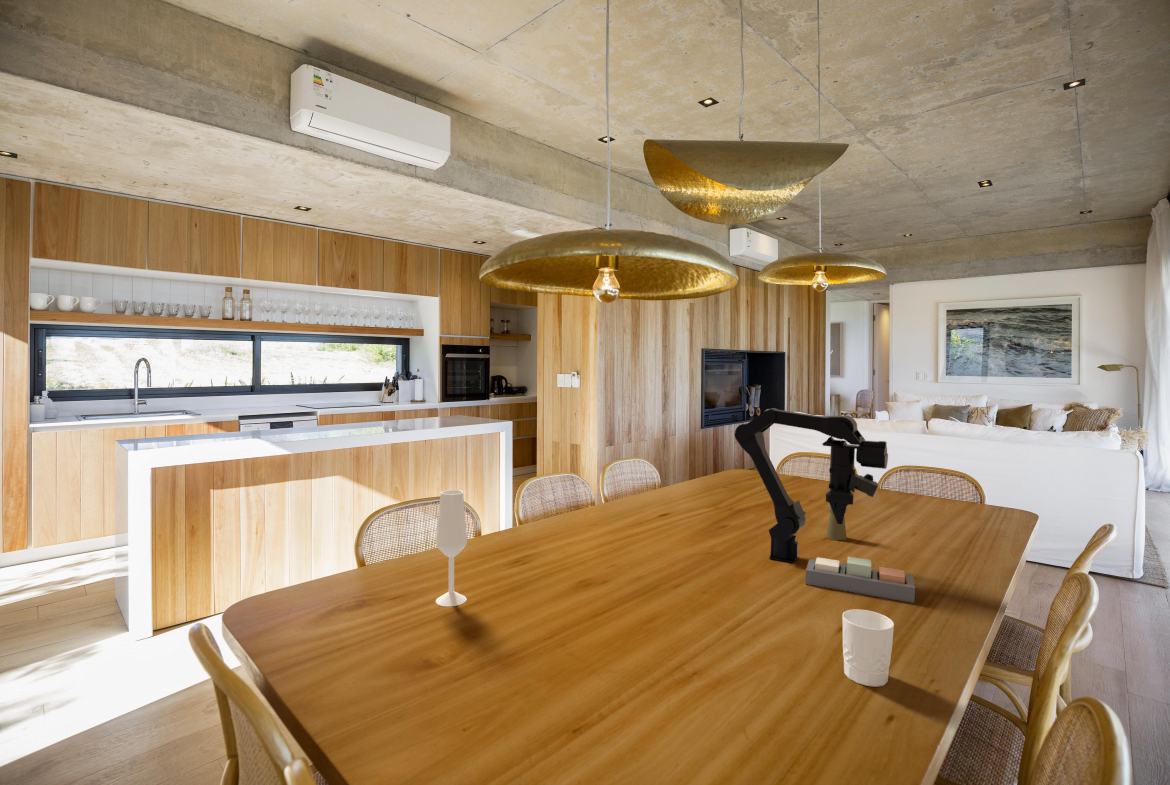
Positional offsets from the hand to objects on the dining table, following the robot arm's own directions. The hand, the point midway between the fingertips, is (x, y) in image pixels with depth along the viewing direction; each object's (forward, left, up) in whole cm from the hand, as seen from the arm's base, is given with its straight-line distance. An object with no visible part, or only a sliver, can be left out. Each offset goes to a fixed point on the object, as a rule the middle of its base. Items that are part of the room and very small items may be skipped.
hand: (839, 523), depth 150 cm
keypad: (+5, -11, -12) cm, 17 cm away
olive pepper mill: (-2, +30, -12) cm, 32 cm away
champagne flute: (-75, -64, -12) cm, 99 cm away
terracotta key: (+12, -11, -11) cm, 20 cm away
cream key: (-2, -11, -11) cm, 16 cm away
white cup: (+7, -55, -12) cm, 57 cm away
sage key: (+5, -11, -10) cm, 16 cm away
